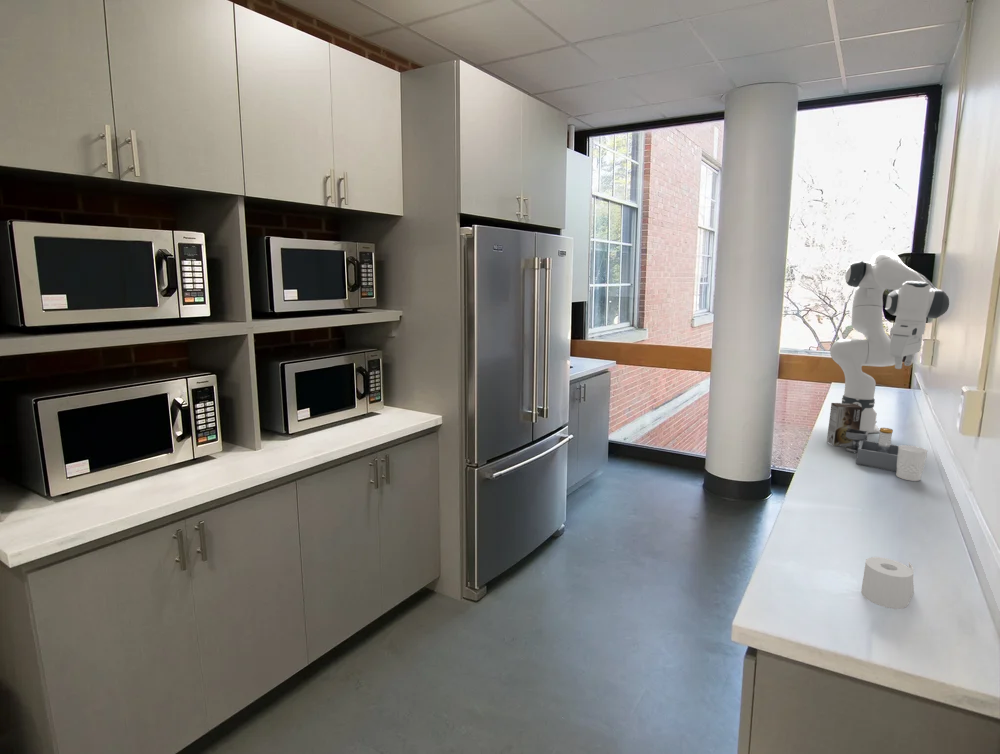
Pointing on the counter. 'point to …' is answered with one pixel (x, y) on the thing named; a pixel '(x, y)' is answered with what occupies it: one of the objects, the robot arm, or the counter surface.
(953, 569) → the counter surface
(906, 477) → the white cup
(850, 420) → the coffee box
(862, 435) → the grey capsule holder
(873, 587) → the toilet paper
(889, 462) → the bin
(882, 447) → the gold-capped metal cylinder
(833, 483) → the counter surface
